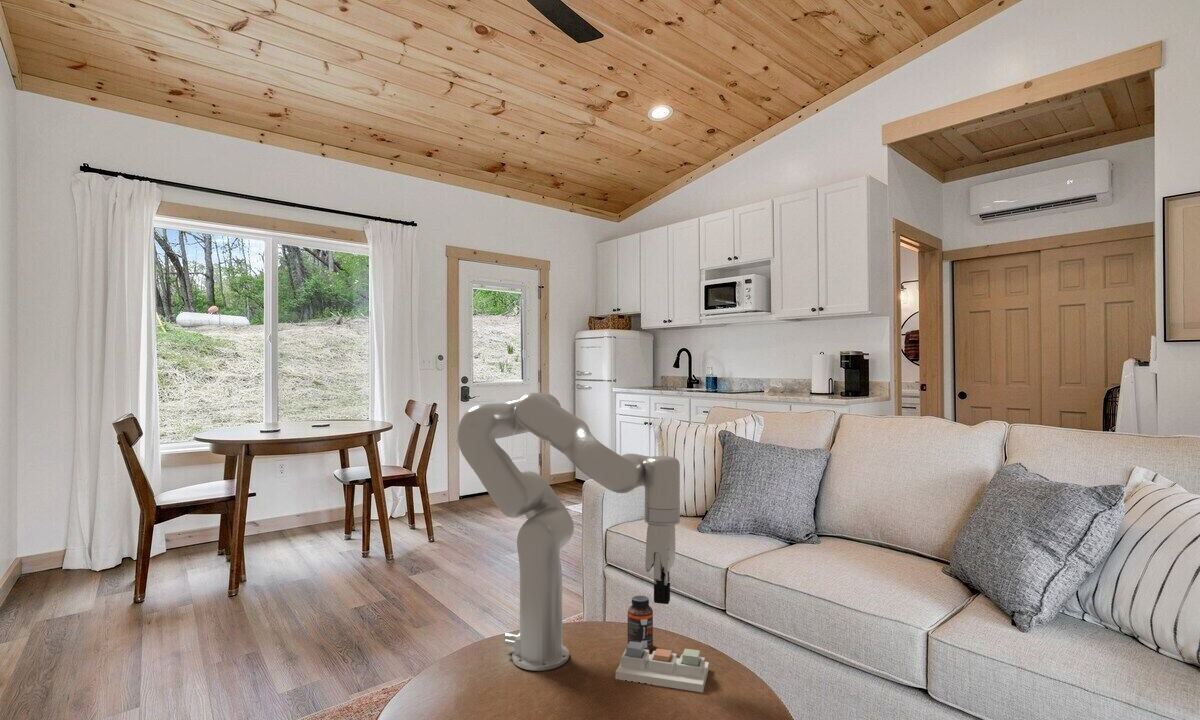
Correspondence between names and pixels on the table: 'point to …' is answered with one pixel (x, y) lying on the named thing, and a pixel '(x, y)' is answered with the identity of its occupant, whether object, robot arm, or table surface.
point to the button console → (663, 672)
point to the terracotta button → (663, 655)
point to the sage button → (691, 657)
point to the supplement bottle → (640, 622)
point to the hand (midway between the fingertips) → (661, 602)
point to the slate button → (635, 649)
